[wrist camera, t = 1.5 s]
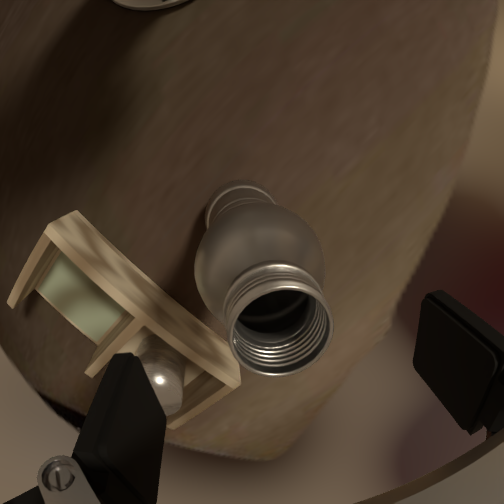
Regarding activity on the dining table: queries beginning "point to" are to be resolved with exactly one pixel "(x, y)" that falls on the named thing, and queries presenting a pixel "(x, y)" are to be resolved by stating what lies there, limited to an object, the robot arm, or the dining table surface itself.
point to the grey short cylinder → (164, 371)
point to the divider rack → (123, 310)
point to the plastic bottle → (263, 280)
